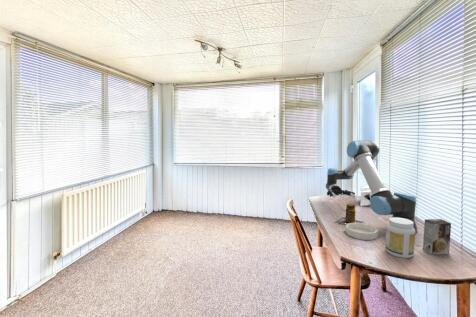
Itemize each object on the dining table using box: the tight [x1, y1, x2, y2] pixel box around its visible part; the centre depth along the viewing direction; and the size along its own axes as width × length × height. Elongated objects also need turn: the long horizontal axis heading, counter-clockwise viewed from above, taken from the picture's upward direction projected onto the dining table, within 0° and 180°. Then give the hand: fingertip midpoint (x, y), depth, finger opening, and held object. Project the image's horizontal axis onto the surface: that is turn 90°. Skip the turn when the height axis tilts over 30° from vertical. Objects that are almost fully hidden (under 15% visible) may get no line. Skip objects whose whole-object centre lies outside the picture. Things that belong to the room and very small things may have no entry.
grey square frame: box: [334, 216, 364, 226], centre depth 171 cm, size 14×14×1 cm
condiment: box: [340, 203, 358, 224], centre depth 171 cm, size 7×8×12 cm
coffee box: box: [422, 218, 452, 255], centre depth 128 cm, size 9×6×16 cm
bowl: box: [344, 222, 379, 241], centre depth 151 cm, size 17×17×4 cm
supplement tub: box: [385, 217, 416, 259], centre depth 126 cm, size 12×12×17 cm
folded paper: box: [360, 184, 372, 207], centre depth 217 cm, size 17×24×17 cm
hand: (344, 196), depth 180 cm, fingers open, 13 cm apart
